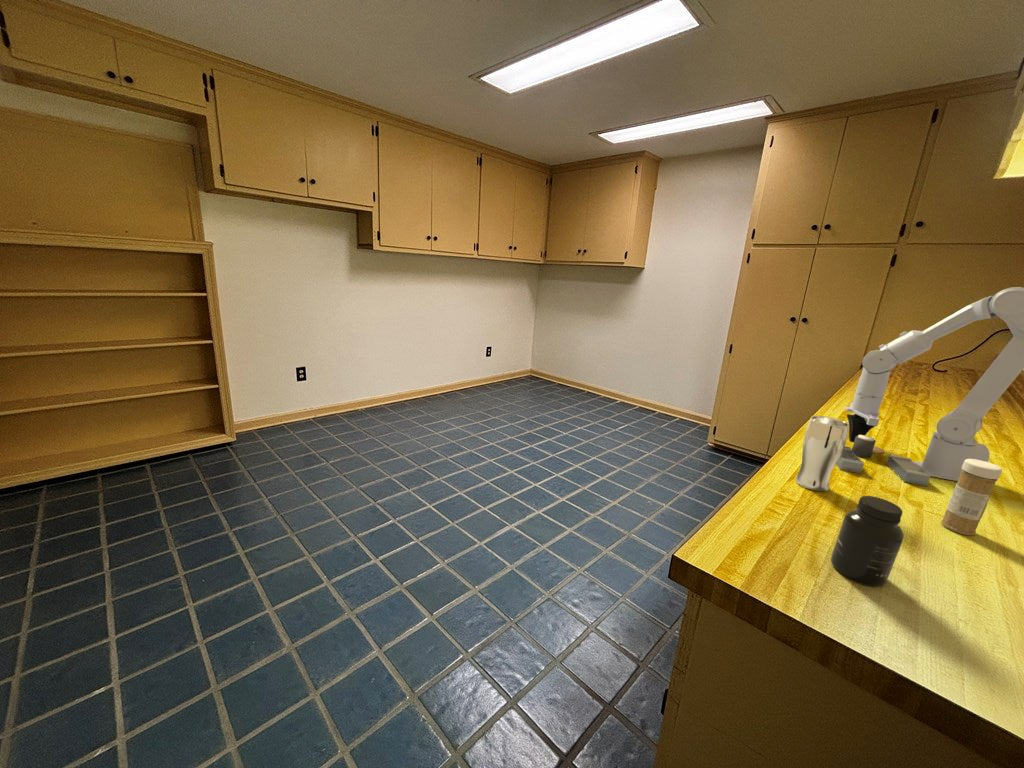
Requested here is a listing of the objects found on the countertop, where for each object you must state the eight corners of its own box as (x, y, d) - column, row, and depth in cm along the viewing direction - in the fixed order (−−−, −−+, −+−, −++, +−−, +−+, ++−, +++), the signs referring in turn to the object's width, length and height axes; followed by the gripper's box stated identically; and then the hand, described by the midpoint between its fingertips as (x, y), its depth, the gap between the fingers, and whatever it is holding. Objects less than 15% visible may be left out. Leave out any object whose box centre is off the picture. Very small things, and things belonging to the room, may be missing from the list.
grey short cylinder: (867, 453, 108) (872, 436, 107) (872, 459, 105) (878, 441, 103) (848, 450, 110) (854, 433, 108) (853, 456, 106) (859, 438, 105)
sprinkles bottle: (977, 531, 76) (1005, 466, 72) (971, 539, 73) (1000, 471, 69) (942, 518, 79) (968, 455, 76) (936, 525, 77) (962, 460, 73)
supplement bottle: (818, 556, 66) (839, 491, 63) (857, 556, 67) (879, 491, 63) (856, 589, 59) (881, 517, 56) (899, 588, 60) (926, 517, 57)
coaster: (877, 446, 113) (877, 445, 113) (886, 455, 108) (886, 453, 108) (850, 442, 116) (851, 441, 115) (858, 450, 110) (858, 448, 110)
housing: (906, 468, 101) (909, 458, 100) (926, 486, 92) (930, 475, 91) (828, 453, 107) (831, 443, 106) (840, 469, 98) (843, 459, 97)
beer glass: (826, 482, 91) (845, 419, 87) (834, 496, 85) (855, 429, 81) (789, 474, 94) (806, 412, 90) (795, 487, 88) (813, 422, 84)
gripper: (842, 385, 116) (829, 430, 120) (860, 399, 104) (845, 448, 107) (872, 390, 114) (858, 435, 117) (895, 404, 101) (878, 454, 105)
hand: (854, 441), depth 112 cm, fingers closed
